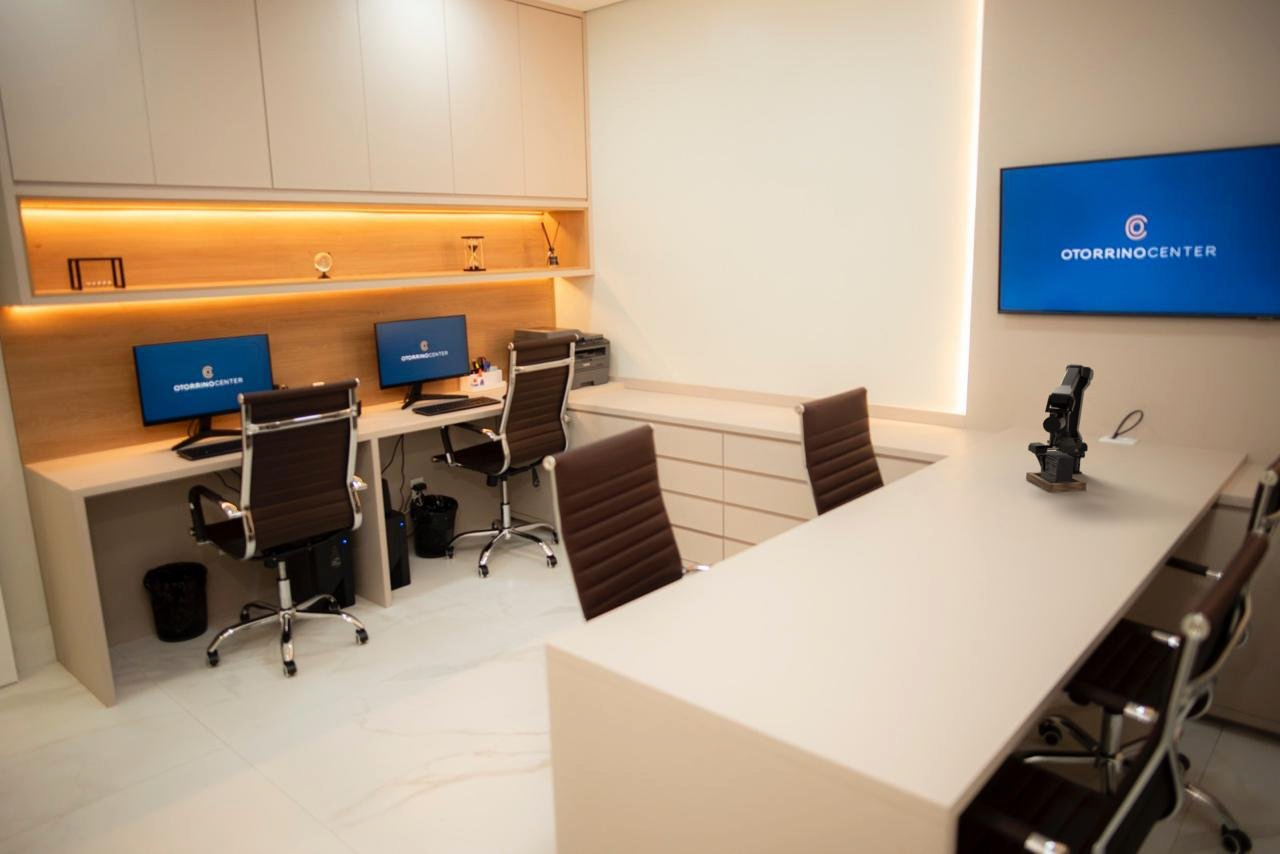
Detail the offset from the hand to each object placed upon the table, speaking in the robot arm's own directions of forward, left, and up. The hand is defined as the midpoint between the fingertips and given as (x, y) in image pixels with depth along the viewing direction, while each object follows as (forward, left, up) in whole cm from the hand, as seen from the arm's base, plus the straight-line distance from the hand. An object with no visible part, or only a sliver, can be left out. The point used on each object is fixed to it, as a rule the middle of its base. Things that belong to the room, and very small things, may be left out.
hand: (1056, 470), depth 300 cm
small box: (0, 0, -5) cm, 5 cm away
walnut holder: (0, 0, -5) cm, 5 cm away
